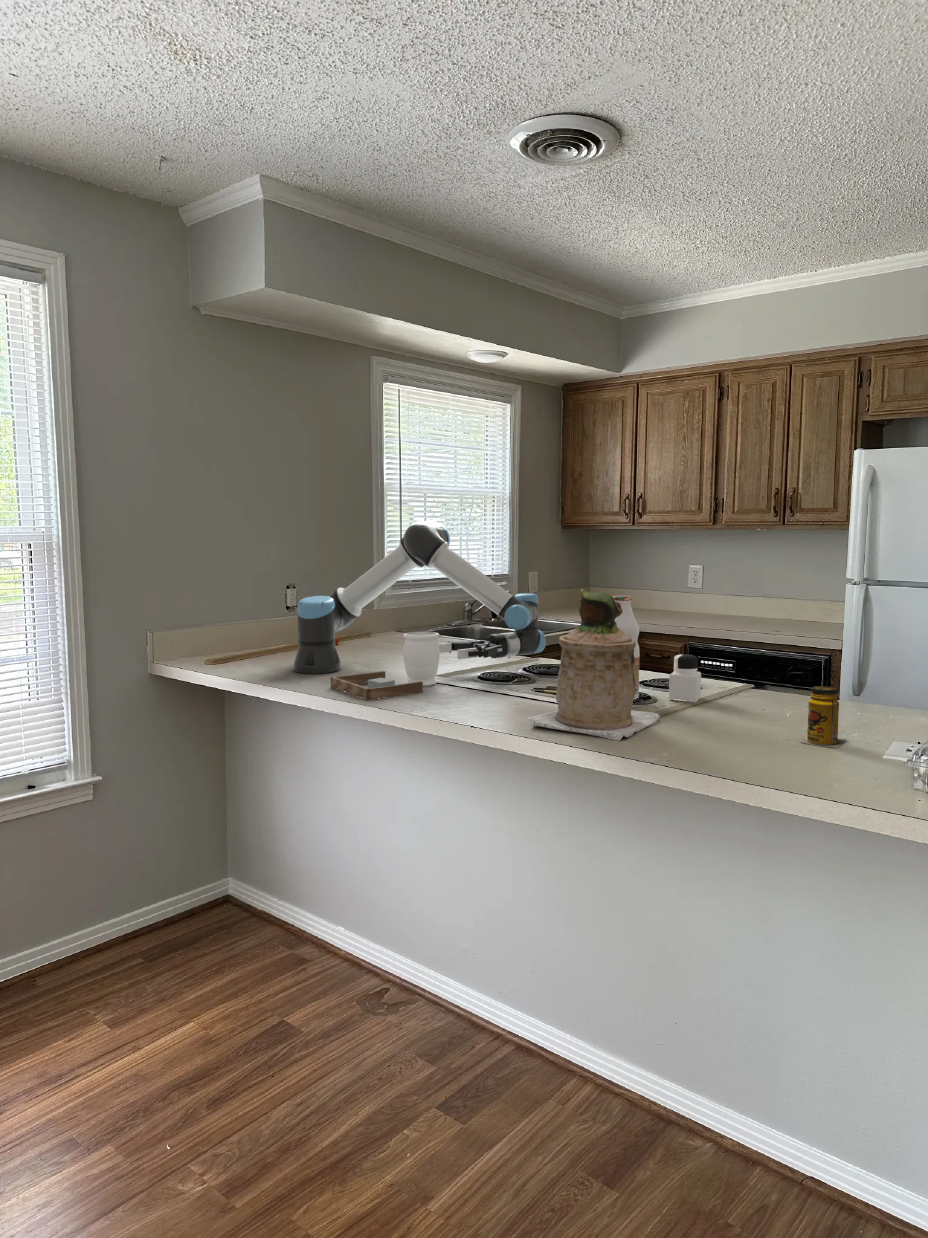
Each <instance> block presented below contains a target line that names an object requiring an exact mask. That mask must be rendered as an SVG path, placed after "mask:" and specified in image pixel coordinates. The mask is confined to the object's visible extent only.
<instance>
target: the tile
mask: <svg viewBox="0 0 928 1238" xmlns="http://www.w3.org/2000/svg"><path fill="white" fill-rule="evenodd" d="M395 683H396V680H395V679H389V678H386V677H385V678H376V679H371V680H368V684H367V688H376V687H384V686H391V685H396V684H395Z"/></svg>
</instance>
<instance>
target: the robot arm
mask: <svg viewBox="0 0 928 1238" xmlns="http://www.w3.org/2000/svg"><path fill="white" fill-rule="evenodd" d="M450 540H451V537H450V533H449V530H448V529H447V528H446V527H445V526H444V525H443V524H442V523H440V522H438V521H435V520H427V521H422V520H421V521H416V522H414V523H411V524H410V525H409V526H408V527H407V529H406V530H405V532H404V535H403V536H402V538H400V539H399V545H398V546H397V547H396V548H395V549H394V550H392V551H391V552H390V553H389V554H387V555H386V556H385V557H384V558H382V559H381V560H379V562H377V563H376V564H374V565H373V566H372V567H371V568H370V569H368V570H367V571H366V572H365V573H363V574H362V575H360V576H359V577H358V578H357V579H355V581H353V582H352V583H351V584H349V585H347V586H346V587H338V588H336V589H335V590H334V591H333V592H332V593H330V594H329V595H314V596H307V597H302V599H300V600H299V601H298V602H297V610H296V614H297V634H298V635H297V636H298V638H297V639H298V648H297V651H296V655H295V658H294V661H293V671H294V672H295V673H299V674H310V675H311V674H315V675H316V674H327V673H335V672H339V671H341V669H342V662H341V659H340V657H339V653H338V649H337V647H336V633H338V632H341V631H344V630H346V629H348V628H349V627H350V626H351V625H352V623H354V621H355V620H356V619H357V618H358V617H360V616H361V615H362V609H363V608H364V607H365V606H367V605H368V604H370V603H371V602H372V601H373V600H375V599H376V598H377V597H378V596H380V595H381V594H383V592H385V591H386V590H387V589H389V588H390V587H391V586H393V585H394V584H395V583H396V582H398V581H399V580H401V579H402V578H403V577H404V576H405V575H407V574H408V573H410V572H411V571H412V570H413V569H415V568H419V569H421V568H424V567H427V568H428V569H433V568H434V569H435V570H437V572H439V573H440V574H442V575H443V576H444V577H446V578H447V579H449V580H450V581H451V582H452V583H454V584H455V585H457V586H458V587H459V588H461V589H462V590H464V591H465V592H466V593H467V594H469V596H471V597H473V598H475V600H477V601H478V602H480V603H481V604H482V605H484V606H485V607H487V609H489V610H490V611H492V612H493V613H494V614H496V615H497V616H499V617H500V619H502V620H503V621H504V622H505V624H506V625H507V627H508V628H510V629H511V630H514V632H502V633H493V634H492V633H491V634H490V635H488V637H487V638H486V640H484V639H483V640H482V639H481V640H478V639H476V640H458V641H457V640H455V641H453V640H452V641H450V640H449V641H447V642H444V643H438V644H439V652H440V654H442V653H450V654H451V653H452V652H455V651H456V654H457V660H464V659H471V658H473V659H474V658H482V657H483V658H485V659H487V658H489V657H490V658H491V659H499V658H506V657H507V658H508V659H511V658H512V657H516V656H524V655H525V656H526V655H527V656H528V655H533V654H539V653H541V652H543V651H544V649H545V648H546V646H547V645H546V644H547V640H546V638H545V633H544V632H543V631H542V630H540V629H539V622H538V621H539V596H538V595H537V594H535V593H517V594H515V596H514V595H513V594H511V593H510V592H508V591H507V590H506V589H504V588H503V587H502V586H500V585H499V584H498V583H496V582H495V581H494V580H492V579H491V578H489V577H488V576H487V575H486V574H484V573H483V572H482V571H481V570H479V569H477V568H476V567H475V566H474V565H473V564H471V563H470V562H468V561H467V560H465V559H464V558H463V557H462V556H460V555H459V554H458V553H457V552H455V551H453V550H452V549H451V548H450V543H451V541H450ZM334 671H335V672H334Z"/></svg>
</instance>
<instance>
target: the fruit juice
mask: <svg viewBox="0 0 928 1238" xmlns="http://www.w3.org/2000/svg"><path fill="white" fill-rule="evenodd" d="M612 597H613V599H614V601H617V602H619V603H620V605H621V608H622V610H623V612H622V614H621V615H620V616H618V617H616V618H615V622H616V624H617V627H618V628H619V629H620V630H621V631H624V632H626V633H627V634H628V635H629V636H630V637H631V638H632V639H634V640H635V641H636V646H635V648H634V658H635V660H634V665H633V674H634V680H635V696H634V699H637V698H638V699H639V696H640V695H639V692H640V691H639V689H640V645H639V642H638V638H639V634H640V625H639V623H638V622H637V620H636V617H635V615H634V611H633V607H632V601H633V598H632V596H631V595H625V594H624V595H621V594H620V595H619V594H618V595H613V596H612Z"/></svg>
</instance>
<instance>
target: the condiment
mask: <svg viewBox="0 0 928 1238" xmlns="http://www.w3.org/2000/svg"><path fill="white" fill-rule="evenodd" d="M838 692H839V691H838V689H837V688H835V687H832V686H823V685H821V686H813V687H811V689H810V699H809V700H808V708H807V709H808V711H807V738H806V739H804V740H802V741H801V742H800V743H802V744H807V745H813V746H819V747H827V748H835V749H836V748H838V747H839V746H841V745H843V743H845V742H846V741H847V740H849V739H846V738H843V739H842V738H839V716H840V715H839V712H840V709H839V708H840V702H839V700H838Z"/></svg>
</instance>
